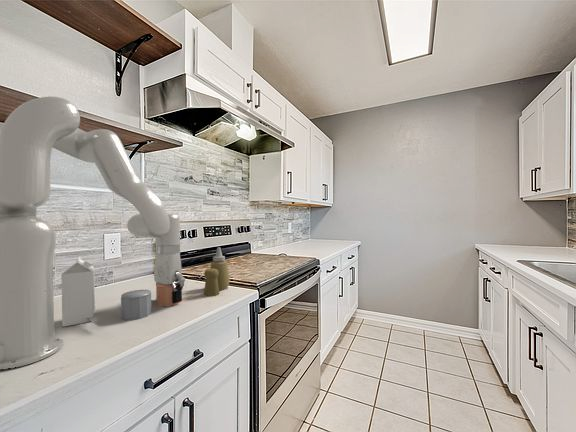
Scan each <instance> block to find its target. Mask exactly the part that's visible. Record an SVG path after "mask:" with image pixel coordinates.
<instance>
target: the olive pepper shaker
mask: <svg viewBox="0 0 576 432" xmlns="http://www.w3.org/2000/svg"><path fill="white" fill-rule="evenodd" d="M203 275H204V278H205V284H204V291H203V296H204V297H206V298H207V297H209V298H211V297H216V296H219V295H220V291H219V287H218V280H217V277H218V275H219V272H218V270H217V269H210V268H207V269H206V270H204V273H203Z"/></svg>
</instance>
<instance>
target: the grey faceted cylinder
mask: <svg viewBox="0 0 576 432" xmlns="http://www.w3.org/2000/svg"><path fill="white" fill-rule="evenodd" d="M120 313H121V315H120V316H121V319H122V320H123V321H136V320H141V319H144V318H147V317H149V316H150V315H152V291H151V290H150V289H136V290H135V289H134V290H131V291H126V292H124V293H122V294H121V297H120Z"/></svg>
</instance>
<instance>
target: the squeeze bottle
mask: <svg viewBox="0 0 576 432" xmlns="http://www.w3.org/2000/svg"><path fill="white" fill-rule="evenodd" d="M209 269H217V270H218V272H219V275H218V277H217V280H218V287H219V292H220V291H224V290H228V288H229V284H230V276H229V267H228V262H227V260H226V256H225V255H223V253H222V249H221V247H220V246H219V247H217V248H216V253H215V255H214V256H212V261H211V262H210V267H209Z"/></svg>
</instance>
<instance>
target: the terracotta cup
mask: <svg viewBox="0 0 576 432" xmlns="http://www.w3.org/2000/svg"><path fill="white" fill-rule="evenodd" d="M155 286H156V287H155V292H156V294H155V296H156V298H155V299H156V301H155V302H156V306H159V307H169V306H174V305H177V304H180V303H181V302H178V303H172V291H173V288H172V286H171V284H170V285H163V284H160V283H157V284H156V283H155ZM175 286H177V284H175Z"/></svg>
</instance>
